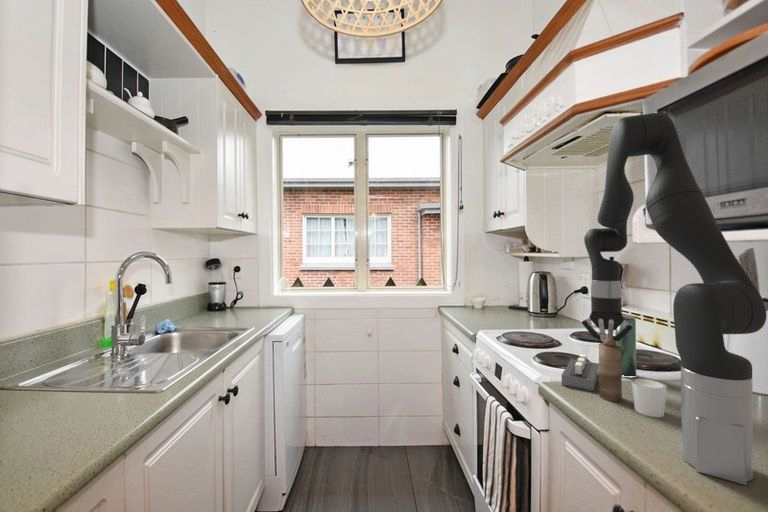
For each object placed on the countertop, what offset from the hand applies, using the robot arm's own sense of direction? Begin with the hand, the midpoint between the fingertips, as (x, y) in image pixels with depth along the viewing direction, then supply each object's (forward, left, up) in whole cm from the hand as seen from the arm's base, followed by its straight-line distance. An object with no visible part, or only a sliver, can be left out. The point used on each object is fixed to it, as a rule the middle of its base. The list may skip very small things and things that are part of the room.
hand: (606, 353), depth 99 cm
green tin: (+11, -4, -9) cm, 15 cm away
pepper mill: (-11, -1, -9) cm, 14 cm away
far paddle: (+5, +7, -6) cm, 10 cm away
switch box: (0, +7, -9) cm, 11 cm away
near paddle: (-5, +7, -6) cm, 10 cm away
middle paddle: (0, +7, -6) cm, 9 cm away
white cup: (-15, -9, -9) cm, 20 cm away
